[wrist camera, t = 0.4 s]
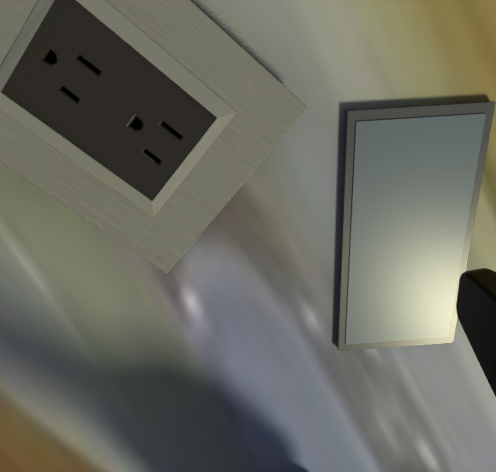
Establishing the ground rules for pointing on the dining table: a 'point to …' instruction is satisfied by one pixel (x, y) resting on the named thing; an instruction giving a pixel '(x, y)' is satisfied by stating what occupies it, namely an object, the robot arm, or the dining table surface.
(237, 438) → the dining table surface
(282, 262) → the dining table surface
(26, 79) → the electrical outlet
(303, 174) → the dining table surface
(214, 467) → the dining table surface
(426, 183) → the plate
